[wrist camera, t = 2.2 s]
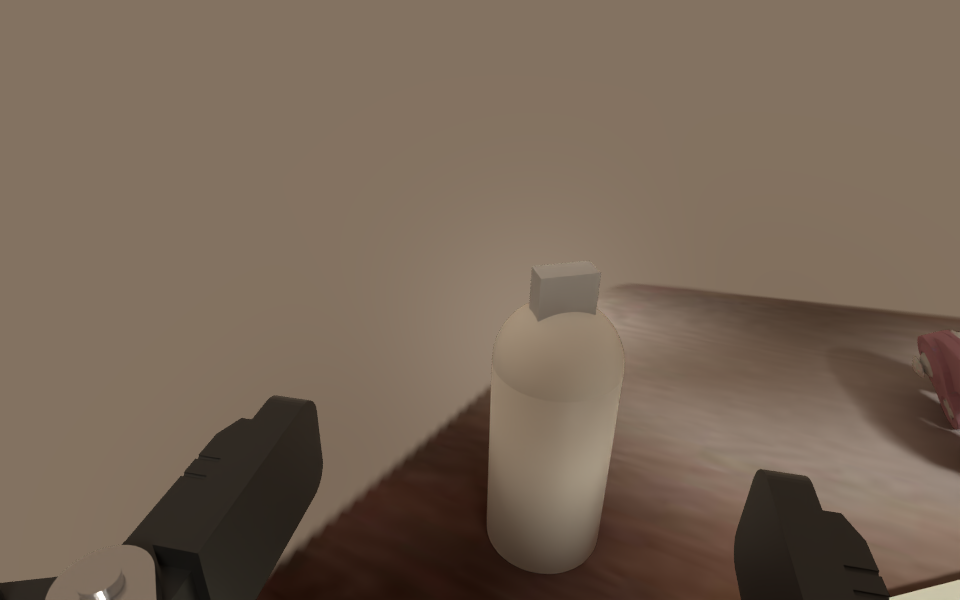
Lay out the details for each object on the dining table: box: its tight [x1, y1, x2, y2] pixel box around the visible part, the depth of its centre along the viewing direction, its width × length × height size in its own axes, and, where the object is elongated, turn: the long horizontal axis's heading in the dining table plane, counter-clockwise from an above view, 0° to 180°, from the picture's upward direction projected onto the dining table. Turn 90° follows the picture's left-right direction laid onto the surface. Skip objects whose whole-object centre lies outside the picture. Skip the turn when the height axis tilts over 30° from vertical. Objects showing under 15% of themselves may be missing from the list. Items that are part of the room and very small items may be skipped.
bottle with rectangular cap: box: [487, 261, 625, 574], centre depth 25 cm, size 5×5×13 cm
